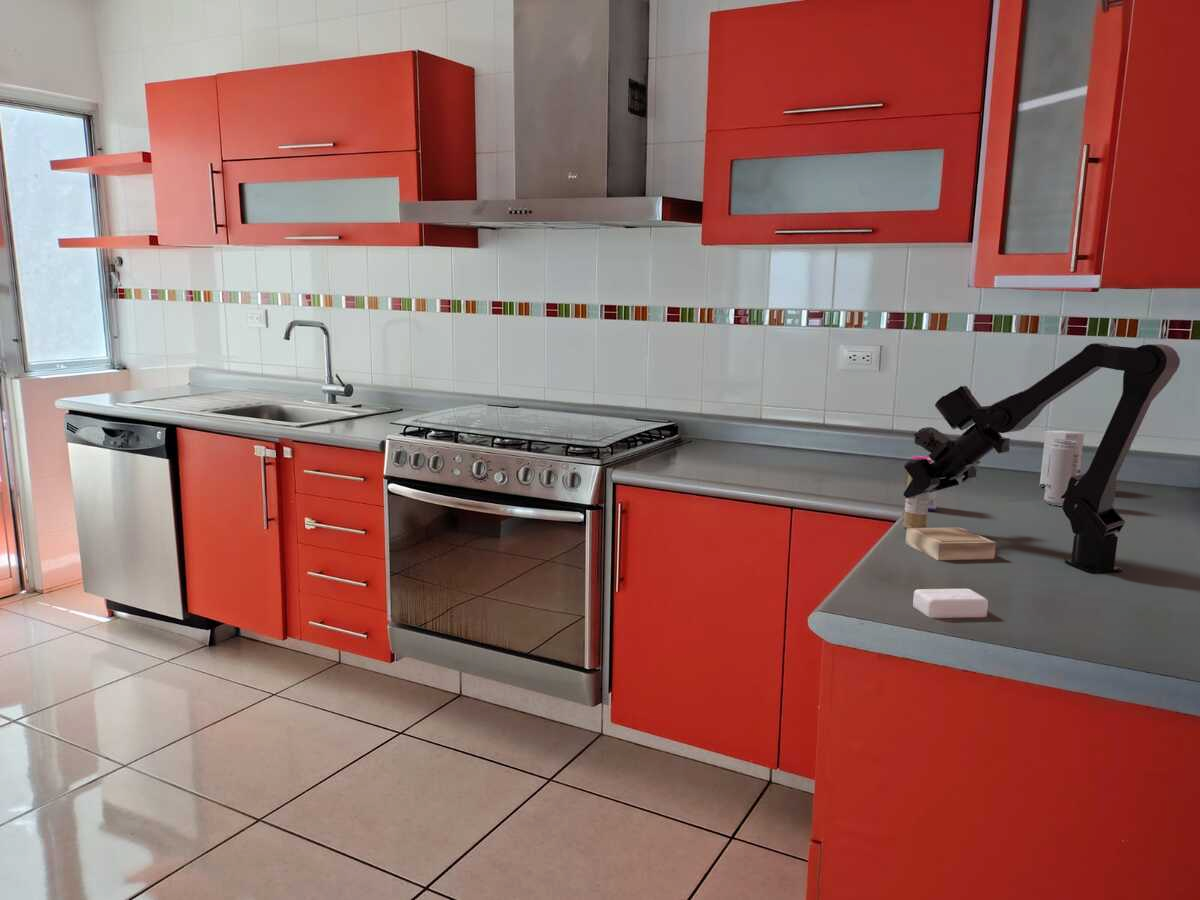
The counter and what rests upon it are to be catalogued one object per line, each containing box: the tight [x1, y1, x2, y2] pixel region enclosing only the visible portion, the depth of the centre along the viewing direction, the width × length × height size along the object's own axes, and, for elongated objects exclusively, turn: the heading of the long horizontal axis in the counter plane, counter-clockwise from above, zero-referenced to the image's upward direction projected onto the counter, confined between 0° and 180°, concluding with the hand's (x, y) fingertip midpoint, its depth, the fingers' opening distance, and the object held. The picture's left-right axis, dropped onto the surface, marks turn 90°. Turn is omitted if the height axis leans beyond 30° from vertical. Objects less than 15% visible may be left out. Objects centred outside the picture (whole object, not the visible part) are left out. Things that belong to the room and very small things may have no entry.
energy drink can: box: [1043, 439, 1079, 504], centre depth 207 cm, size 6×6×15 cm
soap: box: [912, 588, 989, 619], centre depth 129 cm, size 9×6×3 cm, turn 98°
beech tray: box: [904, 526, 997, 561], centre depth 162 cm, size 11×11×3 cm
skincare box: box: [1039, 430, 1085, 485], centre depth 227 cm, size 8×6×15 cm
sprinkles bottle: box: [902, 472, 929, 529], centre depth 179 cm, size 5×5×14 cm
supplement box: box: [910, 455, 939, 512], centre depth 199 cm, size 6×6×12 cm
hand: (911, 494), depth 180 cm, fingers closed on sprinkles bottle, 4 cm apart
